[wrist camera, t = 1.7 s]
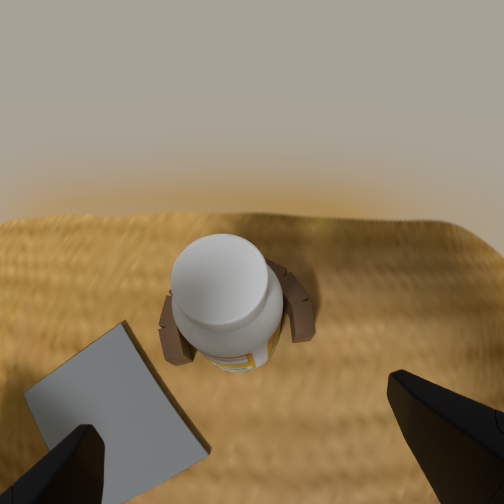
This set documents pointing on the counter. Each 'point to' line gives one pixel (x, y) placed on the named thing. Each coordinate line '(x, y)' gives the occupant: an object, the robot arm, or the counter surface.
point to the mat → (116, 415)
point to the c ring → (292, 304)
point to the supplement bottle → (227, 301)
